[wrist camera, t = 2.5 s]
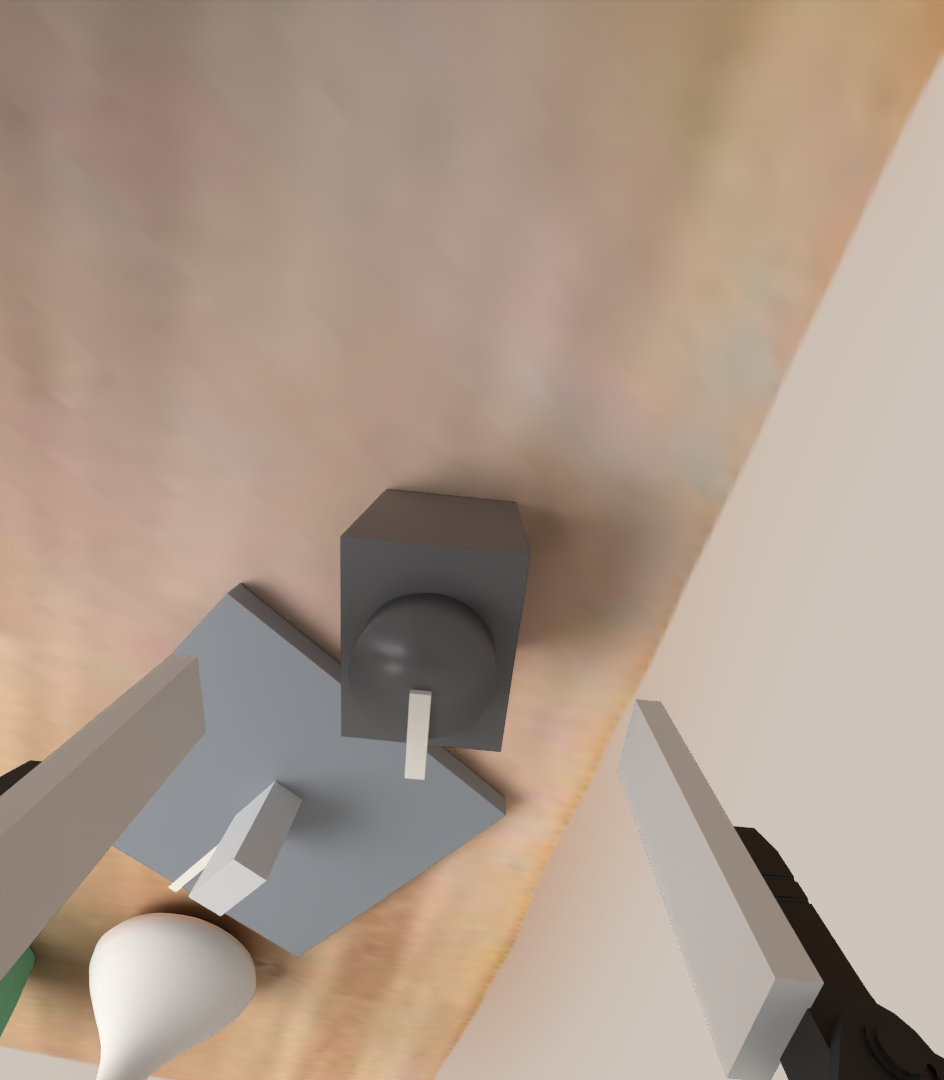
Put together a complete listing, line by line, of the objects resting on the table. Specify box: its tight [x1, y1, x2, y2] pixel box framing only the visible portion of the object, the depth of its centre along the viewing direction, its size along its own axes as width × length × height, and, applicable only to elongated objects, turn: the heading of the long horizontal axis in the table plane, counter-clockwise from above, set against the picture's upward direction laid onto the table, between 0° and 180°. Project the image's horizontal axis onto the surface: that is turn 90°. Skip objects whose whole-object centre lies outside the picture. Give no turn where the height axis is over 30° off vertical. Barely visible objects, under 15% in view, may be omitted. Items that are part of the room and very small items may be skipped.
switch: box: [112, 584, 506, 957], centre depth 25 cm, size 20×20×6 cm
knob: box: [341, 489, 530, 780], centre depth 18 cm, size 8×6×9 cm
